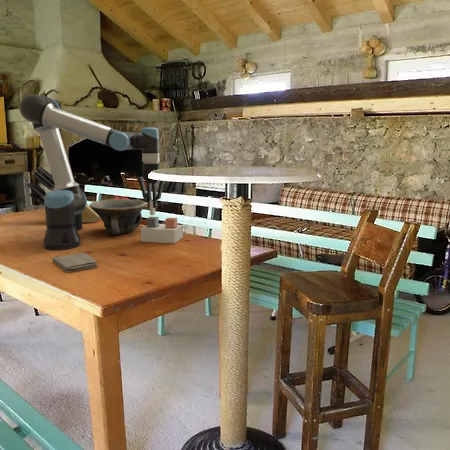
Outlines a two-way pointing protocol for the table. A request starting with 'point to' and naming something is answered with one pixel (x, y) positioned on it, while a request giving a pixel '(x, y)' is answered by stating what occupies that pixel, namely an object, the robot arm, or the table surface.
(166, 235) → the block
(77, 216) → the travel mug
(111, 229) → the bowl
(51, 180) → the knife block
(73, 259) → the washcloth
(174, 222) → the pink cube
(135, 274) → the table surface
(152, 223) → the grey metal cube
